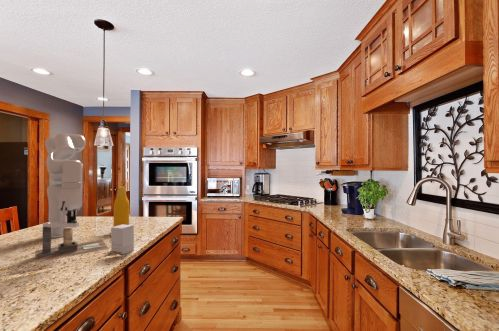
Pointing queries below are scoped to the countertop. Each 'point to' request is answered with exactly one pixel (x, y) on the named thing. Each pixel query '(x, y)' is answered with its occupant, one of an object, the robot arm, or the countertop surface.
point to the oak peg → (67, 236)
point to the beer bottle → (121, 208)
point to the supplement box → (122, 238)
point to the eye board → (65, 248)
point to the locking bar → (61, 224)
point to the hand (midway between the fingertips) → (71, 224)
